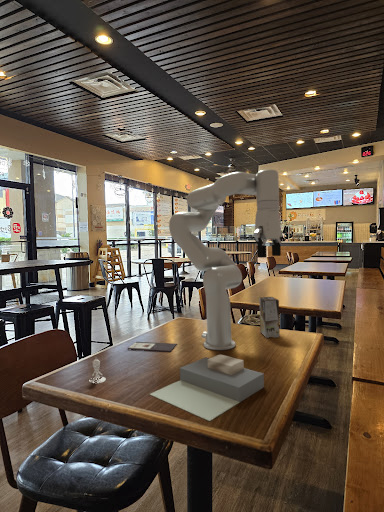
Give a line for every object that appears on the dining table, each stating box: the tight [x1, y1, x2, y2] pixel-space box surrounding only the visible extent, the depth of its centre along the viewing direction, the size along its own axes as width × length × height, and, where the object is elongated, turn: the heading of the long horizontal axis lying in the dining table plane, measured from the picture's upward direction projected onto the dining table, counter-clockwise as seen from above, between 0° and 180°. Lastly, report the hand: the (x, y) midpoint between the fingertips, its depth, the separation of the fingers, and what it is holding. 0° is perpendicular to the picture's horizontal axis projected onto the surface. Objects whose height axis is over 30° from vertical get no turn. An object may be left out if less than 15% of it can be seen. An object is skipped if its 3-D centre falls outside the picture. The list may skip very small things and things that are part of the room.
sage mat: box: [149, 379, 239, 422], centre depth 93 cm, size 22×12×1 cm, turn 47°
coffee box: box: [258, 296, 281, 339], centre depth 150 cm, size 9×6×16 cm
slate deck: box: [179, 357, 265, 404], centre depth 102 cm, size 22×12×4 cm, turn 47°
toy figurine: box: [88, 356, 107, 384], centre depth 106 cm, size 5×8×7 cm, turn 175°
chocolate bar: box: [126, 341, 178, 353], centre depth 139 cm, size 9×1×18 cm
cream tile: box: [207, 353, 245, 375], centre depth 103 cm, size 9×6×2 cm, turn 47°
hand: (269, 256), depth 119 cm, fingers open, 9 cm apart
